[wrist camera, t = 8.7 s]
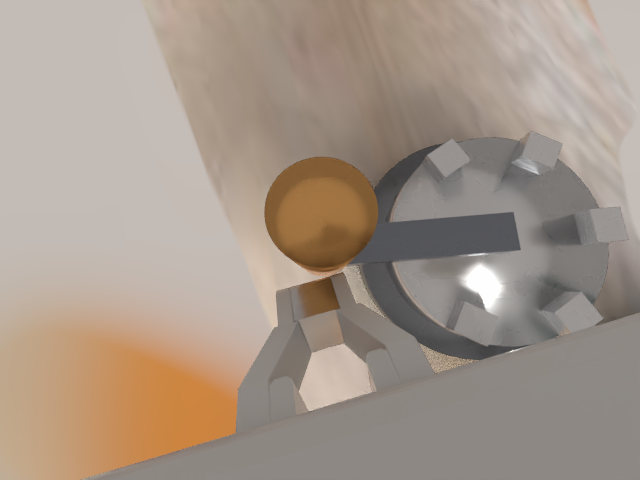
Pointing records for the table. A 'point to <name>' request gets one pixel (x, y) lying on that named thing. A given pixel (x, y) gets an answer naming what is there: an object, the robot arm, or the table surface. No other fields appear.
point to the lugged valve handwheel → (461, 236)
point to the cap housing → (391, 299)
